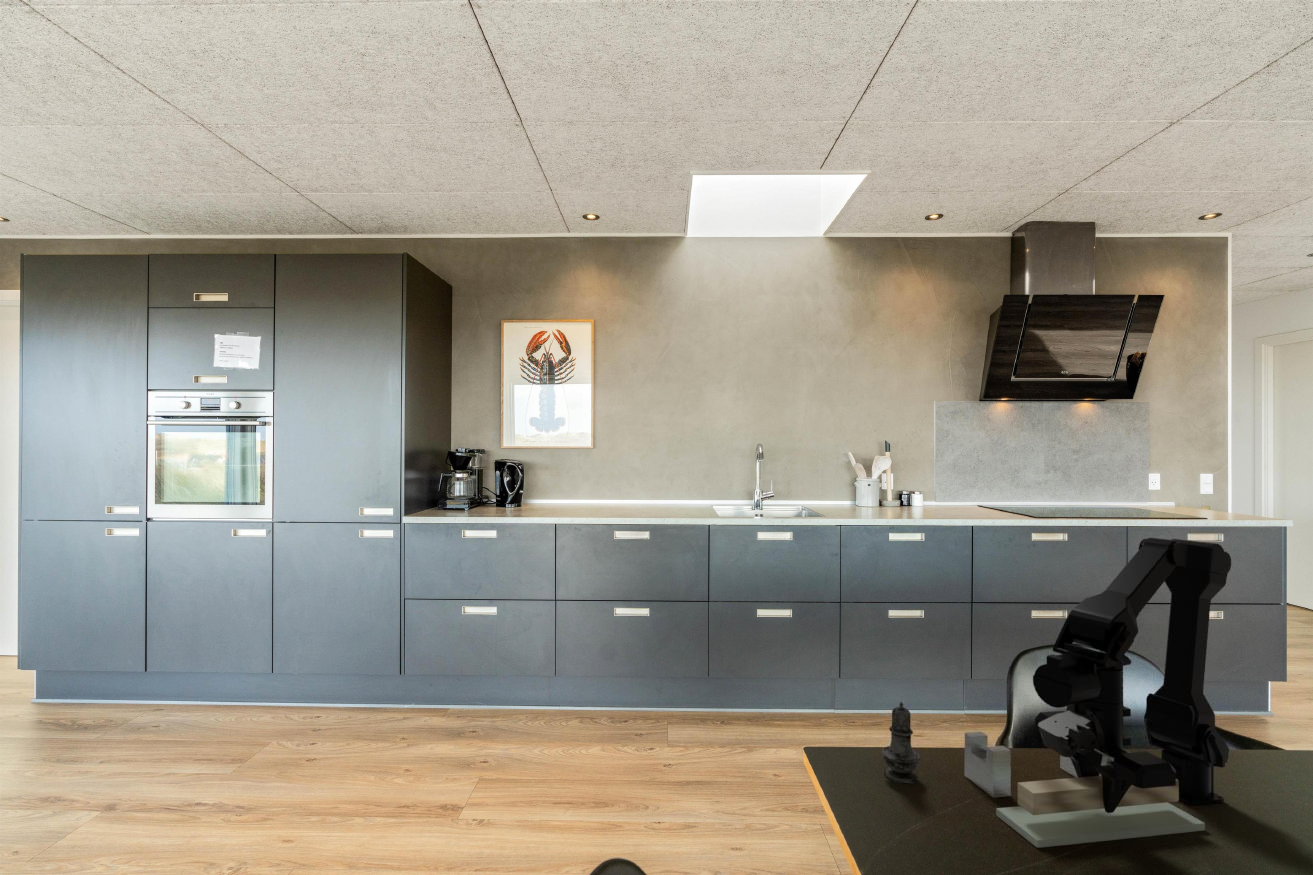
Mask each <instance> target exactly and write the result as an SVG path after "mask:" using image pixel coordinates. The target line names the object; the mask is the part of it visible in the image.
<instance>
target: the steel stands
mask: <svg viewBox="0 0 1313 875" xmlns="http://www.w3.org/2000/svg"><path fill="white" fill-rule="evenodd" d="M988 738H989V737H988V735H987V734H986V733H984V732H983V731H971V732H969V731H968V732H967V731H966V732H964V777H966V778H967V779H968V780H970V781H971V782H972V783H973V784H974V785H976V786H977V787H978V788H979V789H981V790H983V791H984V792H985V793H987V795H989V796H991V797H992V798H1001V797H1011V794H1012V793H1011V789H1012V788H1011V778H1012V777H1011V776H1012V775H1011V771H1012V770H1011V766H1012V764H1011V763H1012V760H1011V755H1012V754H1011V753H1012V750H1011V749H1009V747H1007V746H1005V745H994V746H988V740H989V739H988ZM1059 756H1060V757H1059V765H1060V766H1059V767H1060V769H1062V770H1063V771H1065V772H1066V773H1068V774H1070V775H1071V776H1073V778H1078V776H1077V774H1076V771H1075V768H1074V766H1073V763H1072V761H1071V759H1070V758H1069V757H1063V756H1061V755H1059ZM1106 761H1107V757H1106V756H1104V755H1103V757H1102V763H1101V766H1102V765H1106ZM1099 776H1101V774H1099Z"/></svg>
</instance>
